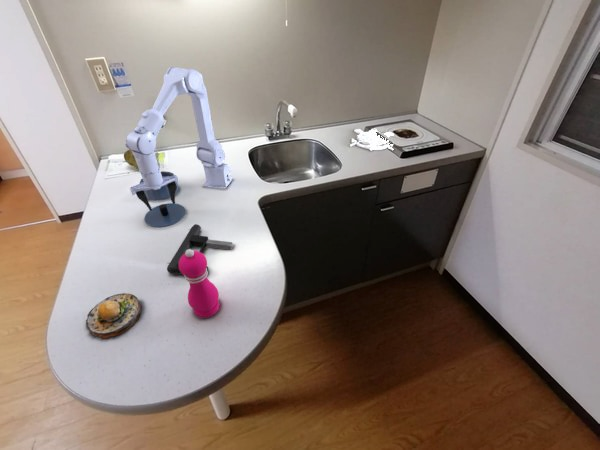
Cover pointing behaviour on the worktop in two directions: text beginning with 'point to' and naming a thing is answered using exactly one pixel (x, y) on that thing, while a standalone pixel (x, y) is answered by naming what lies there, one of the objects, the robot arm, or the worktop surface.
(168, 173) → the pot
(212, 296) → the pepper mill
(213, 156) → the robot arm
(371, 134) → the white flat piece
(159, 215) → the lid
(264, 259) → the worktop surface
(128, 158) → the potato
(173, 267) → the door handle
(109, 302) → the burger on plate
